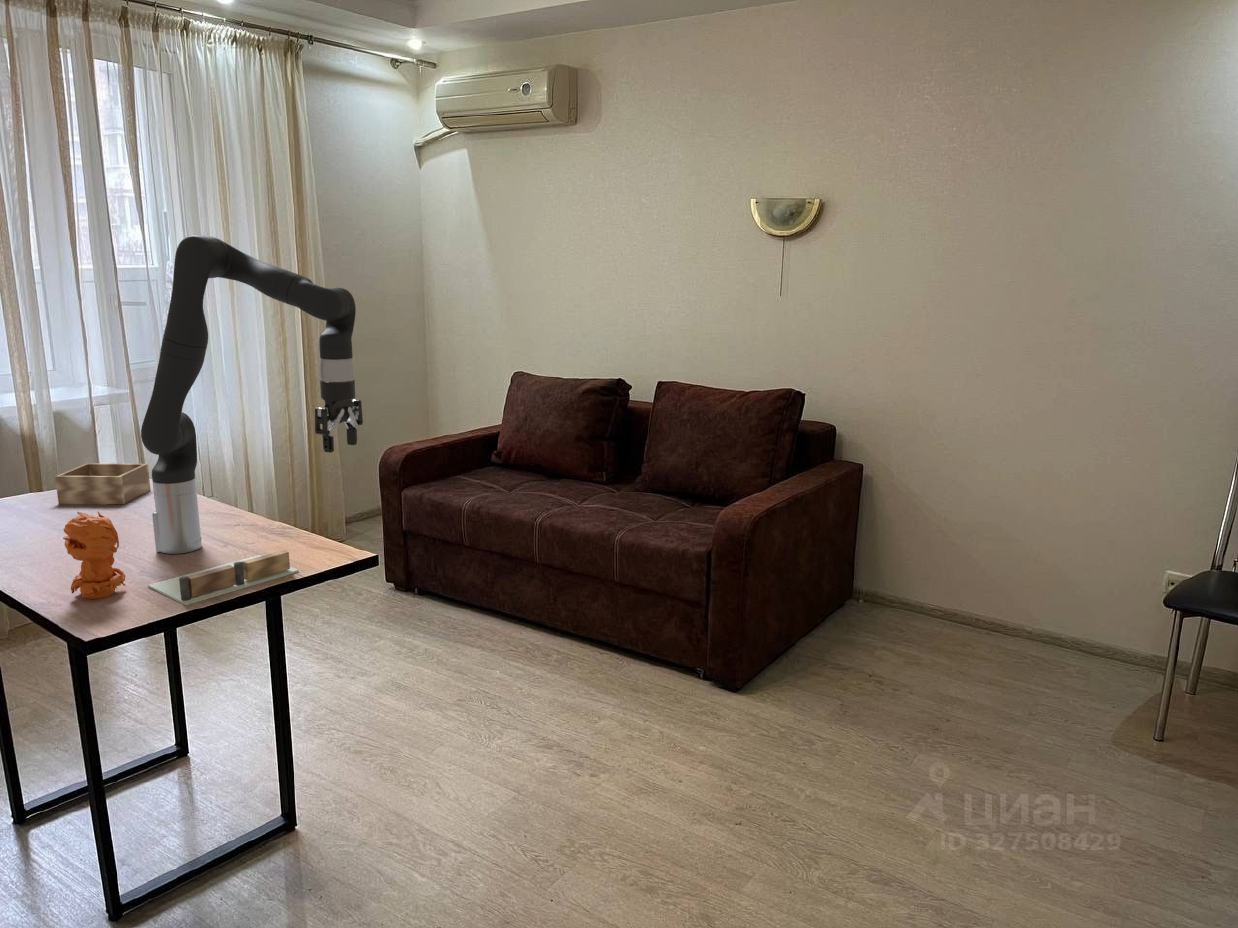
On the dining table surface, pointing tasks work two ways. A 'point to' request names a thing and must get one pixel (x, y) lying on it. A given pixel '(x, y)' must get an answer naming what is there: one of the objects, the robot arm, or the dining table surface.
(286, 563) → the rail
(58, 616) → the dining table surface
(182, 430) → the robot arm
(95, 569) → the toy dinosaur
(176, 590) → the card
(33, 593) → the dining table surface
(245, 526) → the dining table surface
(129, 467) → the toy crate
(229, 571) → the fence fixed
